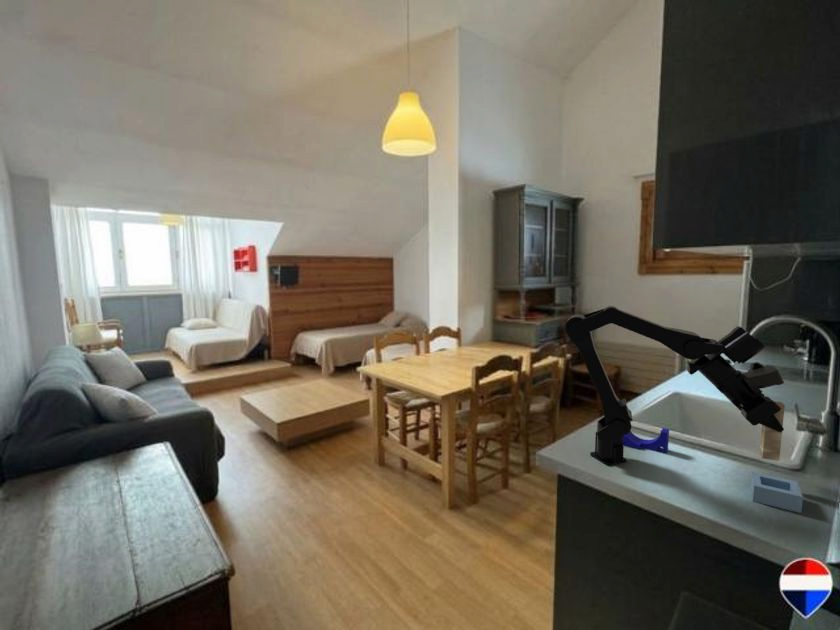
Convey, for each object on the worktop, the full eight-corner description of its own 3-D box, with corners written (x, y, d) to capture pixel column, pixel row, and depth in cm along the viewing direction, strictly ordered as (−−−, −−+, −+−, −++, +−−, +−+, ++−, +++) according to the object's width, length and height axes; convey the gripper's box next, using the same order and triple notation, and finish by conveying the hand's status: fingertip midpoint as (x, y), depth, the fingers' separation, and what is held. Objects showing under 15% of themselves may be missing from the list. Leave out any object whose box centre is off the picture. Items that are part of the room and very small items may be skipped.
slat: (762, 458, 91) (767, 403, 89) (759, 454, 93) (764, 400, 91) (779, 460, 90) (784, 404, 88) (775, 456, 91) (781, 402, 90)
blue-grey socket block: (752, 501, 86) (754, 485, 85) (750, 486, 91) (751, 471, 91) (801, 513, 81) (803, 497, 81) (795, 496, 87) (797, 481, 86)
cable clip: (616, 444, 114) (617, 424, 113) (620, 438, 117) (621, 419, 117) (665, 456, 106) (666, 434, 105) (668, 450, 110) (669, 429, 109)
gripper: (772, 363, 81) (839, 423, 78) (743, 345, 98) (797, 394, 95) (722, 396, 85) (783, 454, 82) (702, 374, 102) (752, 421, 99)
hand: (779, 428), depth 90 cm, fingers closed on slat, 2 cm apart
